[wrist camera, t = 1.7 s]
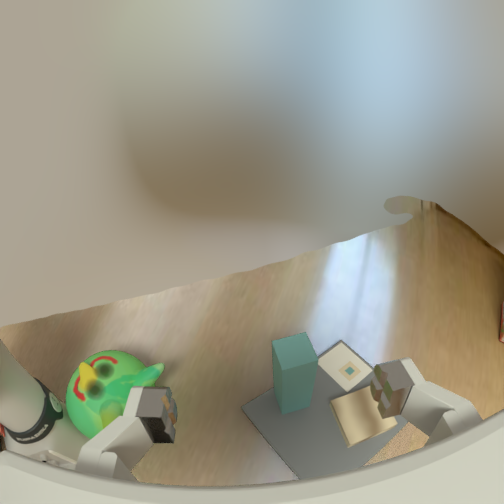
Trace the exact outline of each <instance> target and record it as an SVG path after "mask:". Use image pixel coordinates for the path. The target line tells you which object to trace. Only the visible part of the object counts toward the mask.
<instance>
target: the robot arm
mask: <svg viewBox="0 0 504 504" xmlns="http://www.w3.org/2000/svg"><path fill="white" fill-rule="evenodd" d="M373 372H374V374H375V376H374V377H373V378H372V379H371V383H370V391H371V395H372V397H373V400H375V401H377V402H378V406H377V408H378V411H379V413H380V415H381V417H382V419H385V418H389V417H393V416H397V415H400V414H401V416H402V417H403V418H405V419H406V420H407V421H409V422H410V423H411V424H413V425H414V426H416V427H417V428H418V429H420V430H421V431H423V432H424V433H425V434H427V435H428V436H429V439H428V440H427V442H426V443H425V445H424V447H422V448H420V449H417V450H414V451H411V452H409V453H406V454H403V455H400V456H397V457H394V458H391V459H387V460H384V461H381V462H377V463H374V464H370V465H366V466H363V467H359V468H355V469H351V470H346V471H342V472H338V473H333V474H328V475H323V476H317V477H312V478H305V479H299V480H292V481H284V482H276V483H266V484H254V485H238V486H181V485H165V484H153V483H143V482H138V480H137V479H136V478H135V477H134V476H133V474H132V473H131V472H130V471H131V470H132V469H133V468H134V467H135V465H136V464H137V463H138V462H139V461H140V460H141V458H142V457H143V456H144V455H145V454H146V453H147V451H148V450H149V449H150V448H151V447H152V445H153V443H174V437H175V428H174V426H173V425H174V424H175V423H176V422H177V407H176V403H175V400H174V399H172V398H171V396H172V392H171V389H170V388H169V387H151V386H133V387H132V388H131V390H130V393H129V396H128V400H127V403H126V406H125V410H124V413H123V416H118V417H117V418H116V419H115V420H114V421H112V422H111V423H110V424H109V425H108V426H106V427H105V428H104V429H103V430H102V431H100V432H99V433H98V434H97V435H96V436H94V437H93V438H92V439H90V438H88V437H86V436H85V435H83V434H82V433H81V432H80V431H79V430H78V429H77V428H76V427H75V425H74V424H73V423H72V421H71V419H70V417H69V415H68V412H67V408H66V404H65V403H64V402H62V401H60V400H59V399H57V397H56V396H55V395H54V394H53V393H52V392H51V391H50V390H49V389H48V388H47V387H46V386H45V385H43V384H42V383H41V382H40V381H39V380H38V379H36V378H34V377H32V376H31V375H30V374H29V373H28V372H27V371H26V370H25V369H24V368H23V367H22V366H21V364H20V363H19V362H18V361H17V360H16V359H15V358H14V357H13V356H12V354H11V353H10V352H9V350H8V349H7V347H6V346H5V345H4V343H3V342H2V341H1V339H0V432H1V435H2V433H3V436H4V441H5V446H6V449H7V450H4V451H2V452H0V504H504V409H502V410H501V411H499V412H497V413H495V414H494V415H492V416H490V417H488V418H486V419H484V420H482V418H481V417H480V415H479V413H478V412H477V410H476V409H475V407H474V406H473V404H472V403H471V402H470V401H469V400H467V399H465V398H463V397H461V396H458V395H456V394H454V393H452V392H450V391H448V390H446V389H444V388H442V387H440V386H438V385H436V384H434V383H432V382H430V381H427V382H426V381H425V379H424V378H423V376H422V375H421V373H420V372H419V370H418V369H417V367H416V366H415V364H414V363H413V361H412V360H411V358H409V357H406V358H402V359H398V360H394V361H389V362H385V363H381V364H377V365H376V366H375V367H374V371H373Z"/></svg>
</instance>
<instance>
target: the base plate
mask: <svg viewBox="0 0 504 504" xmlns="http://www.w3.org/2000/svg"><path fill="white" fill-rule="evenodd" d="M318 359H319V361H318V366H317V372H316V377H315V382H314V387H313V392H312V397H311V402H310V407H307V408H303V409H300V410H297V411H293V412H290V413H286V414H283V415H282V413H281V410H280V408H279V405H278V402H277V399H276V396H275V393H274V387H273V388H271V389H269V390H268V391H266V392H265V393H263V394H262V395H260V396H258V397H257V398H255V399H253V400H252V401H250V402H248V403H247V404H245V405H243V406H242V407H241V408H242V410H243V411H244V413H245V414H246V415H247V417H248V418H249V419H250V420H251V422H252V423H253V424H254V425H255V427H256V428H257V429H258V430H259V432H260V433H261V434H262V435H263V437H264V438H265V439H266V440H267V442H268V443H269V444H270V445H271V446H272V448H273V449H274V450H275V451H276V452H277V454H278V455H279V456H280V457H281V458H282V460H283V461H284V462H285V463H286V464H287V465H288V466H289V468H290V469H291V470H292V471H293V472H294V473H295V474H296V476H297V477H298V478H299V479H305V478H312V477H317V476H323V475H328V474H333V473H338V472H342V471H346V470H351V469H355V468H359V467H362V466H363V465H364V464H365V463H366V462H368V461H369V460H370V459H371V458H372V457H373V456H374V455H375V454H376V453H377V452H378V451H380V450H381V449H382V448H383V447H384V446H385V445H386V444H387V443H388V442H389V441H390V440H391V439H392V438H393V437H394V436H395V435H396V434H397V433H398V432H399V431H400V430H401V429H402V428H403V427H404V426H405V425H406V423H407V422H408V421H407V420H406V419H405V418H403V417H402V416H401V414H400V415H397V416H393V417H389V418H385V419H382V417H381V415H380V413H379V411H378V408H377V406H378V402H377V401H375V400H373V397H372V395H371V391H370V383H371V379H372V378H373V377H374V376H375V374H374V372H373V371H374V368H373V367H372V366H371V365H369V364H368V363H367V362H366V361H365V360H364V359H363V358H362V357H360V356H359V355H358V354H357V353H356V352H355V351H354V350H352V349H351V348H350V347H349V346H348V345H347V344H346V343H344V342H343V341H342V340H340V341H339V342H338V343H336V344H335V345H334V346H332V347H331V348H330V349H328V350H327V351H326V352H324V353H323V354H321V355H320V356H319V357H318Z"/></svg>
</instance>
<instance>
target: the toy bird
mask: <svg viewBox="0 0 504 504" xmlns="http://www.w3.org/2000/svg"><path fill="white" fill-rule="evenodd" d="M164 368H165V365H164V364H163V363H157V364H154V365H152V366H149V367H146V366H145V365H144V364H143V363H142V362H141V361H140V360H138V359H137V358H136V357H134V356H132V355H130V354H128V353H125V352H122V351H116V350H108V351H102V352H99V353H96V354H94V355H92V356H90V357H89V358H87V359H86V360H85V361H84V362H81V363H80V365H79V367H78V368H77V369H76V370H75V372H74V373H73V375H72V377H71V379H70V381H69V384H68V387H67V392H66V408H67V412H68V415H69V417H70V419H71V421H72V423H73V424H74V425H75V427H76V428H77V429H78V430H79V431H80V432H81V433H82V434H83V435H85V436H86V437H88V438H90V439H92V438H93V437H94V436H96V435H97V434H98V433H99V432H100V431H102V430H103V429H104V428H105V427H106V426H108V425H109V424H110V423H111V422H112V421H114V420H115V419H116V418H117V417H118V416H123V413H124V410H125V406H126V403H127V400H128V396H129V393H130V390H131V388H132V387H133V386H151V387H155V383H154V382H155V381H156V380H157V379H158V377H159V376H160V375H161V374H162V372H163V370H164Z"/></svg>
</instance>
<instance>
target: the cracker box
mask: <svg viewBox="0 0 504 504" xmlns="http://www.w3.org/2000/svg"><path fill="white" fill-rule="evenodd" d="M499 341H501V342H503V343H504V301H503V303H502V315H501V329H500V340H499Z"/></svg>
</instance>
